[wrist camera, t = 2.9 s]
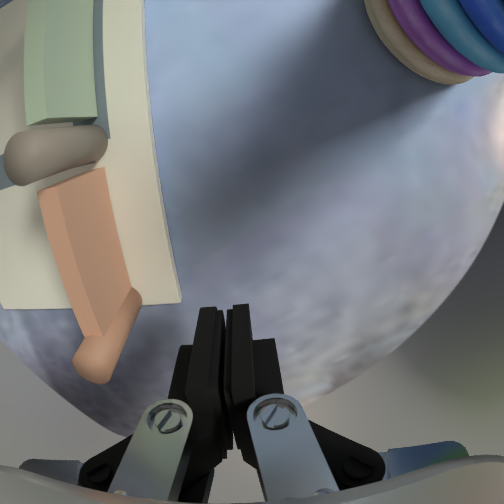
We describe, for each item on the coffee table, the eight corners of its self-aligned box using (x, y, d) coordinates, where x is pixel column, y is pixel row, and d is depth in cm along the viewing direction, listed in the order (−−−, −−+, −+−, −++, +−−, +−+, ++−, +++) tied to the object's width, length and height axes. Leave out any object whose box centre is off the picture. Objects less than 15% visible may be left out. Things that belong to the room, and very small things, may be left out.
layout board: (-35, 40, 9) (-41, 39, 8) (144, -51, 9) (141, -56, 8) (7, 304, 17) (3, 309, 16) (182, 297, 17) (180, 302, 16)
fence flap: (74, 129, 12) (0, 140, 7) (105, 120, 12) (36, 124, 7) (117, 313, 16) (82, 382, 11) (146, 312, 16) (116, 385, 11)
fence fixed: (72, -22, 8) (17, -59, 3) (102, -34, 8) (54, -80, 3) (73, 123, 12) (-1, 132, 7) (104, 114, 12) (35, 115, 7)
